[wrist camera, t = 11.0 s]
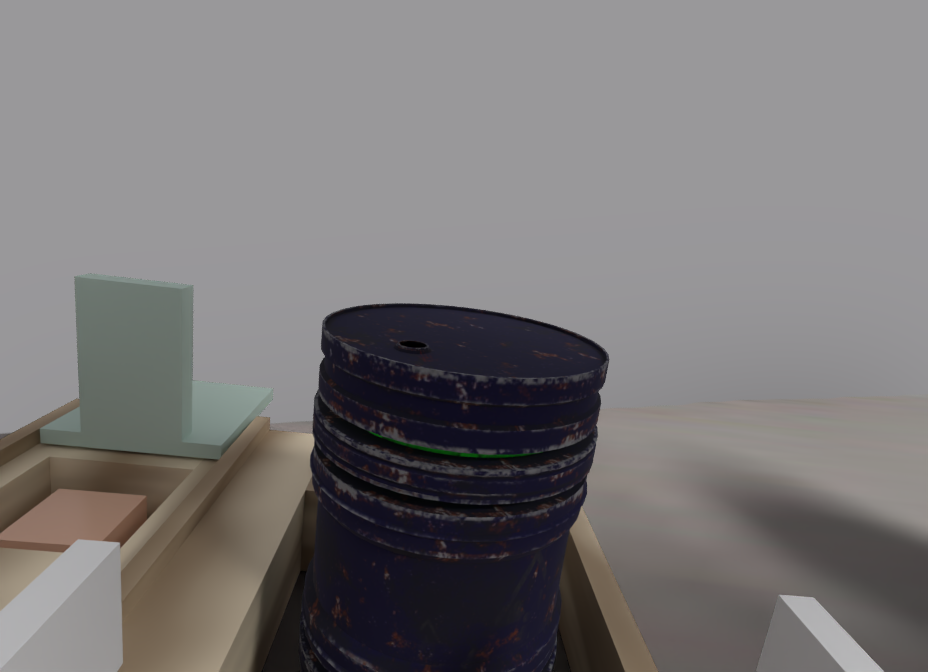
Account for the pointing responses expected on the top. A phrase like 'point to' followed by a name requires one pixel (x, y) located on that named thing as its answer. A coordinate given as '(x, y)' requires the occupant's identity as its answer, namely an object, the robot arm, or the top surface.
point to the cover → (147, 376)
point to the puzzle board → (246, 551)
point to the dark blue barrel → (445, 488)
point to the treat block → (76, 520)
